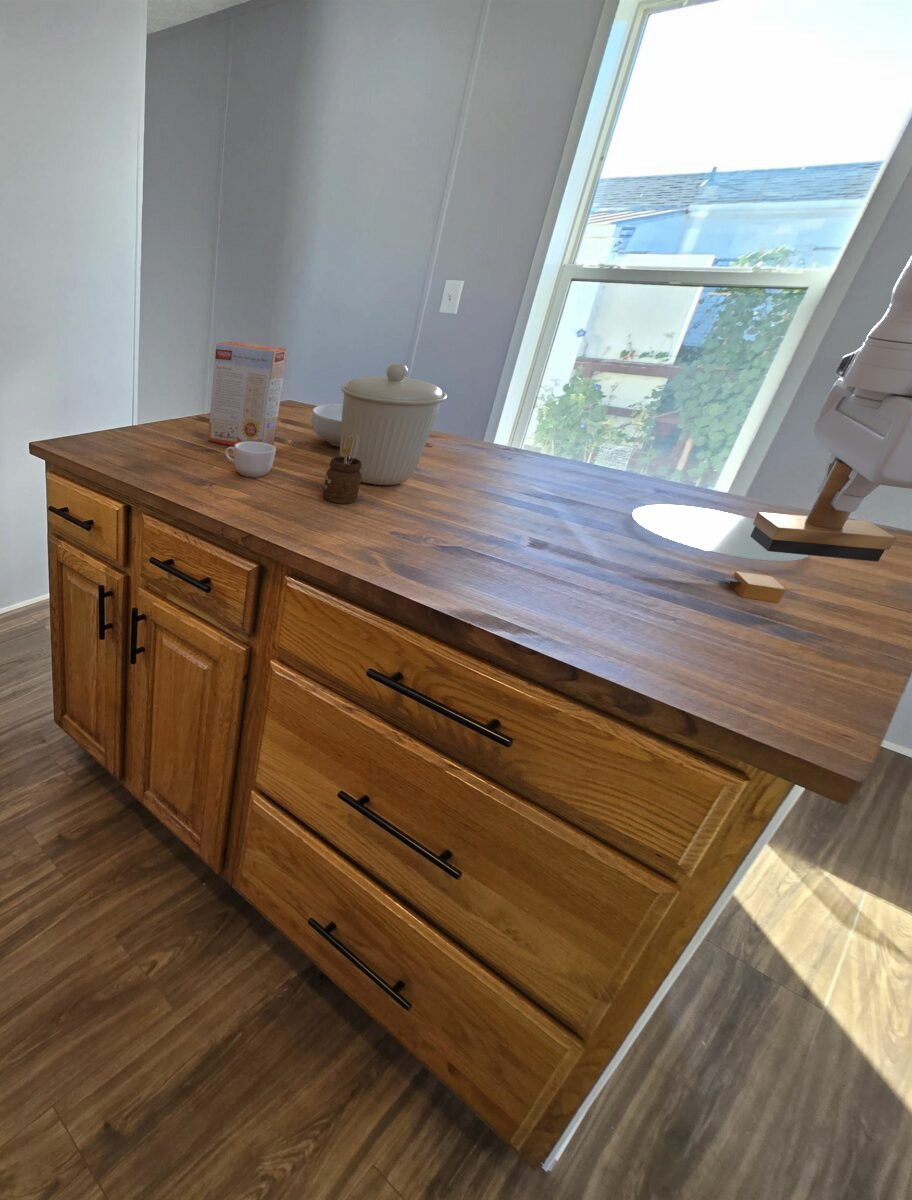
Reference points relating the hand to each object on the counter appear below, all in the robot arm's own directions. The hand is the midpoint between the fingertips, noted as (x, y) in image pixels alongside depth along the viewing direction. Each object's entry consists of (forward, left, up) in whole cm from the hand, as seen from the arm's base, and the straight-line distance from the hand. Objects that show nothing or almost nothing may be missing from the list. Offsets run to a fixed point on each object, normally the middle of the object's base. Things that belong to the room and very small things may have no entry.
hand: (834, 502), depth 72 cm
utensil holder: (+55, -17, -16) cm, 60 cm away
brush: (0, 0, -6) cm, 6 cm away
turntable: (0, -31, -16) cm, 35 cm away
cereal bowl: (+62, -54, -16) cm, 84 cm away
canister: (+52, -33, -16) cm, 64 cm away
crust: (-1, -11, -16) cm, 19 cm away
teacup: (+74, -22, -16) cm, 79 cm away
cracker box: (+82, -40, -16) cm, 93 cm away
